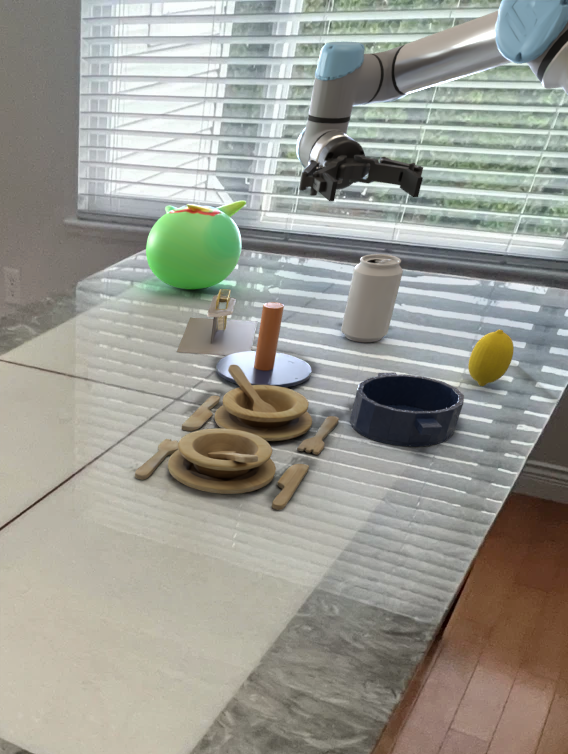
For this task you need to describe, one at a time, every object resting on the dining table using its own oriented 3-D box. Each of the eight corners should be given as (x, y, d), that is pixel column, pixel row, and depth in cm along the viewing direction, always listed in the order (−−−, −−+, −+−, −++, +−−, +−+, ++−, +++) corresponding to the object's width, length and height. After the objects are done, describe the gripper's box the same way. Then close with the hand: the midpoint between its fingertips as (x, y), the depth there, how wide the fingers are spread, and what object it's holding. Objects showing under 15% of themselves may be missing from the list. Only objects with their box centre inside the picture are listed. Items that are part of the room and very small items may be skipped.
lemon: (498, 395, 122) (519, 338, 117) (458, 389, 124) (476, 332, 119) (503, 382, 126) (523, 326, 120) (464, 376, 128) (482, 321, 122)
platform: (257, 321, 149) (263, 281, 145) (250, 356, 136) (256, 313, 132) (190, 317, 152) (193, 277, 147) (176, 352, 139) (180, 309, 135)
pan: (426, 397, 122) (436, 366, 119) (476, 454, 108) (488, 420, 105) (334, 399, 123) (341, 368, 120) (371, 456, 109) (380, 422, 106)
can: (358, 326, 146) (376, 249, 138) (395, 337, 141) (415, 258, 133) (330, 335, 143) (346, 257, 135) (367, 347, 138) (386, 267, 130)
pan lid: (298, 356, 136) (310, 289, 129) (320, 391, 125) (335, 319, 118) (209, 359, 136) (216, 291, 129) (223, 393, 126) (233, 322, 119)
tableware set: (281, 513, 99) (291, 465, 95) (128, 479, 106) (130, 434, 102) (342, 419, 118) (352, 376, 114) (208, 396, 125) (213, 355, 121)
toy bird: (133, 294, 163) (138, 207, 153) (158, 271, 174) (164, 188, 164) (225, 303, 157) (236, 213, 147) (244, 278, 168) (256, 193, 158)
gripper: (401, 182, 153) (446, 212, 138) (264, 188, 153) (294, 219, 138) (413, 132, 148) (460, 158, 132) (271, 139, 148) (302, 165, 132)
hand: (375, 189), depth 135 cm, fingers open, 13 cm apart
